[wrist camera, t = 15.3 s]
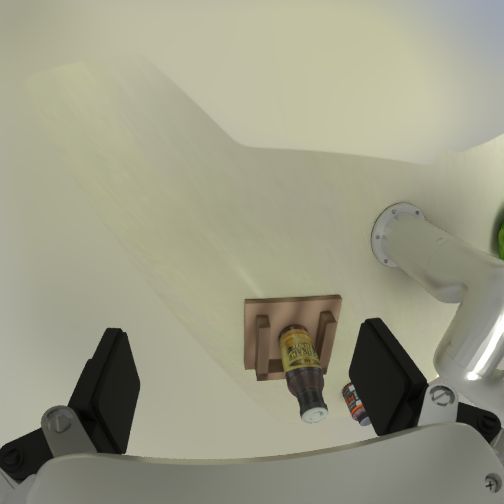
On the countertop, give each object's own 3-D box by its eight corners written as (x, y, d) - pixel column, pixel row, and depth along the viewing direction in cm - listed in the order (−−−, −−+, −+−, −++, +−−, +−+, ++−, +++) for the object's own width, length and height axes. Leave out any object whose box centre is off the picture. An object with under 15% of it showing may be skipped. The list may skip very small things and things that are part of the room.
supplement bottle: (343, 382, 66) (358, 417, 55) (365, 377, 66) (382, 410, 56) (340, 398, 68) (354, 431, 58) (361, 393, 69) (377, 424, 58)
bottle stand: (339, 294, 56) (349, 309, 51) (327, 357, 62) (334, 374, 57) (244, 299, 54) (247, 316, 49) (244, 364, 60) (246, 383, 55)
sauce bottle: (311, 323, 56) (345, 400, 38) (305, 348, 58) (333, 425, 40) (277, 323, 55) (301, 404, 37) (273, 348, 57) (292, 429, 39)
